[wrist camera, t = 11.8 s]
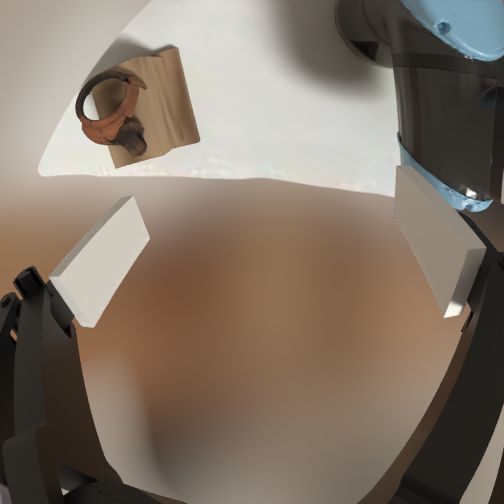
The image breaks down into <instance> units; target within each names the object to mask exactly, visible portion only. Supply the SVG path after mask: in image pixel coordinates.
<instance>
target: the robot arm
mask: <svg viewBox="0 0 504 504" xmlns="http://www.w3.org/2000/svg"><path fill="white" fill-rule="evenodd" d="M335 22H336V26H337V29H338V31H339V33H340V35H341V37H342V39H343V40H344V41H345V43H346V44H347V45H348V46H349V48H350V49H351V50H352V51H353V52H355V53H356V54H357V55H358V56H360V57H361V58H362V59H364V60H366V61H368V62H370V63H372V64H374V65H377V66H380V67H384V68H393V73H394V81H395V90H396V100H397V112H398V129H399V131H398V133H397V139H398V143H399V145H400V156H401V166H396V189H395V205H394V219H395V221H396V223H397V225H398V226H399V228H400V229H401V231H402V233H403V235H404V237H405V239H406V240H407V242H408V244H409V246H410V248H411V250H412V251H413V253H414V255H415V257H416V259H417V261H418V263H419V265H420V267H421V269H422V271H423V273H424V275H425V277H426V279H427V281H428V283H429V285H430V287H431V290H432V292H433V294H434V296H435V298H436V301H437V303H438V305H439V307H440V310H441V312H442V314H443V317H450V316H456V315H460V314H462V312H463V310H464V307H465V305H466V302H468V304H469V306H470V308H471V312H470V314H469V316H468V318H467V320H466V322H465V324H464V326H463V328H462V330H461V332H463V333H462V335H461V338H460V341H459V343H458V346H457V348H456V351H455V353H454V355H453V358H452V360H451V362H450V365H449V367H448V370H447V371H446V374H445V376H444V378H443V380H442V382H441V384H440V386H439V388H438V390H437V392H436V394H435V396H434V398H433V400H432V402H431V403H430V405H429V407H428V409H427V411H426V412H425V414H424V416H423V418H422V419H421V421H420V423H419V424H418V426H417V428H416V429H415V431H414V433H413V434H412V436H411V437H410V439H409V440H408V442H407V443H406V445H405V447H404V448H403V449H402V451H401V452H400V454H399V455H398V456H397V458H396V459H395V461H394V462H393V464H392V465H391V466H390V467H389V469H388V470H387V471H386V473H385V474H384V475H383V477H382V478H381V479H380V481H379V482H378V483H377V484H376V485H375V487H374V488H373V489H372V490H371V491H370V492H369V493H368V494H367V495H366V496H365V497H364V498H363V499H361V500H360V501H359V502H358V503H357V504H459V503H460V500H461V498H462V496H463V494H464V492H465V490H466V489H467V486H468V485H469V483H470V481H471V480H472V477H473V476H474V474H475V472H476V470H477V468H478V466H479V464H480V462H481V460H482V458H483V456H484V453H485V451H486V449H487V447H488V444H489V442H490V440H491V437H492V435H493V432H494V430H495V427H496V424H497V422H498V419H499V416H500V413H501V410H502V407H503V404H504V252H498V251H497V250H496V248H495V247H494V246H493V245H492V243H491V242H490V241H489V240H488V238H487V237H486V236H485V235H484V234H482V231H481V230H480V229H479V228H477V226H476V224H475V223H474V222H473V221H472V220H471V219H470V218H469V217H467V216H466V215H464V214H463V213H461V212H456V211H455V209H459V210H463V209H464V208H466V209H468V210H469V211H481V210H484V209H486V208H487V207H488V206H489V205H490V203H491V202H492V201H493V200H495V201H497V202H500V203H502V204H504V87H501V86H499V85H498V79H497V68H496V60H497V59H499V58H500V57H502V56H503V55H504V4H503V2H502V0H337V3H336V6H335ZM495 79H496V80H495ZM454 208H455V209H454ZM149 239H150V237H149V235H148V232H147V230H146V227H145V225H144V222H143V220H142V217H141V214H140V212H139V209H138V206H137V204H136V201H135V198H134V195H132V196H127V197H123V198H121V199H120V200H119V201H118V202H117V203H116V204H115V205H114V206H113V207H112V208H111V209H110V210H109V211H108V212H107V213H106V214H105V215H104V216H103V217H102V218H101V219H100V220H99V221H98V222H97V223H96V224H95V225H94V226H93V227H92V228H91V229H90V230H89V231H88V232H87V233H86V234H85V236H84V237H83V238H82V239H81V240H80V241H79V242H78V243H77V244H76V245H75V246H74V248H73V249H72V250H71V251H70V252H69V253H68V255H67V256H66V257H65V258H64V259H63V260H62V261H61V263H60V264H59V265H58V266H57V267H56V268H55V269H54V271H53V272H52V273H51V274H50V276H49V279H50V280H49V281H48V282H47V284H45V283H44V281H43V279H42V278H41V276H40V275H39V273H38V271H37V269H36V268H35V267H34V266H32V267H28V268H26V269H25V270H23V271H22V272H21V273H20V274H19V275H18V276H17V277H16V278H15V280H14V282H13V284H14V286H15V287H16V289H17V290H18V292H19V293H20V295H21V296H22V297H23V299H22V300H20V299H19V298H18V297H17V295H16V293H15V292H11V293H9V294H6V295H5V296H4V297H3V298H2V299H1V301H0V504H187V503H185V502H183V501H179V500H175V499H171V498H167V497H164V496H160V495H157V494H153V493H150V492H147V491H144V490H141V489H138V488H135V487H132V486H129V485H126V484H123V482H122V480H121V478H120V476H119V475H118V473H117V472H116V471H115V470H114V469H113V468H112V467H111V465H109V463H108V462H107V460H106V458H105V456H104V453H103V451H102V447H101V444H100V441H99V438H98V435H97V431H96V428H95V425H94V421H93V418H92V414H91V410H90V406H89V402H88V397H87V393H86V388H85V384H84V379H83V373H82V368H81V362H80V357H79V350H78V343H77V335H76V328H75V326H74V324H73V323H72V322H71V321H72V320H73V318H74V317H75V318H76V319H77V320H78V322H79V323H80V324H81V326H85V327H94V326H95V324H96V323H97V321H98V319H99V318H100V316H101V314H102V313H103V311H104V309H105V308H106V306H107V304H108V302H109V301H110V299H111V298H112V296H113V294H114V293H115V291H116V289H117V287H118V286H119V285H120V283H121V281H122V280H123V278H124V277H125V275H126V274H127V272H128V271H129V269H130V267H131V266H132V264H133V263H134V261H135V260H136V258H137V257H138V255H139V254H140V252H141V251H142V249H143V248H144V247H145V245H146V244H147V242H148V241H149ZM11 330H13V331H14V333H15V334H16V335H17V342H16V341H15V340H14V339H13V337H12V336H11V335H10V332H11ZM61 488H62V489H65V490H68V491H70V492H68V493H67V494H65V495H64V496H63V494H62V491H61ZM488 504H504V449H503V454H502V458H501V463H500V467H499V471H498V474H497V478H496V481H495V485H494V488H493V491H492V495H491V497H490V500H489V503H488Z"/></svg>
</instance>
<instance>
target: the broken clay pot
mask: <svg viewBox="0 0 504 504" xmlns="http://www.w3.org/2000/svg"><path fill="white" fill-rule="evenodd" d="M108 79H119V80H121V81H123V82H127V84H128V85H126V86H125V97H124V99H123V101H122V103H121V105H120V106H119V107H118V109H117V110H116V111H115V112H114V113H113V114H111V115H110V116H108V117H106V118H104V119H101V120H90V119H88V118H87V117H86V116H85V115H84V112H83V105H84V101H85V98H86V97H87V95H89V94H90V92H91V90H92V89H93V88H94V87H95V86H96V85H98V84H99V83H101V82H102V81H105V80H108ZM139 87H141V88H143V89H144V90H146V89H147V86H146V84H145V83H144V82H143V81H142V80H140V79H139V78H137V77H135V76H134V75H132V74H126V73H123V72H119V71H107V72H104V73H102V74H99V75H97V76H95V77H94V78H92V79H91V80H90V81H88V82H87V83H86V84H85V86H84V87H83V88H82V89H81V92H80V93H79V95H78V98H77V101H76V105H75V109H76V114H77V117H78V118H79V119H80V121H81V122H82V130H83V132H84V134H85V135H86V136H87V137H88V138H89V139H90V140H92V141H93V142H95V143H97V144H101V145H112V146H115V145H121V146H122V147H123V148H125V149H126V150H127V151H128V152H129V153H130V154H131V155H132V156H133V157H138V156H142V155H143V154H144V153H145V152H146V149H147V144H146V142H145V139H144V137H143V134H144V129H145V128H144V127H141V126H140V125H139V124H138V123H137V122H133V121H128V122H126V123H124V120H125V118H126V117H129V118H131V117H132V115H133V113H134V110H135V107H136V105H137V100H138V96H139ZM114 140H115V141H114Z"/></svg>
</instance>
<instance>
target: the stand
mask: <svg viewBox="0 0 504 504" xmlns="http://www.w3.org/2000/svg"><path fill="white" fill-rule="evenodd" d="M107 71H119V72H123V73H126V74H132V75H134V76H135V77H137V78H139V79H140V80H142V81H143V82H144V83H145V84H146V86H147V89H146V90H144V89H143V88H141V87H139V96H138V100H137V105H136V107H135V110H134V113H133V115H132V117H131V118H129V117H126V118H125V120H124V123H126V122H128V121H133V122H137V123H138V124H139V125H140V126H141V127H144V128H145V129H144V134H143V137H144V139H145V142H146V144H147V149H146V152H145V153H144V154H143V155H142V156H138V157H133V156H132V155H131V154H130V153H129V152H128V151H127V150H126V149H125V148H123V147H122V146H121V145H115V146H112V145H108V148H109V151H110V154H111V157H112V160H113V163H114V165H115V168H120V167H123V166H126V165H130V164H133V163H137V162H140V161H144V160H148V159H151V158H155V157H159V156H163V155H165V154H166V153H167V152H169V151H170V150H171V149H173V148H177V147H181V146H185V145H190V144H194V143H198V142H199V141H200V137H199V133H198V129H197V125H196V121H195V117H194V113H193V109H192V105H191V101H190V97H189V93H188V88H187V84H186V80H185V76H184V72H183V67H182V63H181V59H180V55H179V50H178V48H172V49H169V50H166V51H163V52H160V53H157V54H154V55H152V56H149V57H147V56H137V57H135V58H132V59H130V60H128V61H125V62H123V63H121V64H119V65H116V66H114V67H112V68H110V69H108V70H106V71H104V72H107ZM104 72H102V73H104ZM102 73H100V74H102ZM98 75H99V74H98ZM96 76H97V75H96ZM94 77H95V76H94ZM94 77H92V78H94ZM92 78H90V79H89V81H90V80H91V79H92ZM126 85H128V84H127V82H123V81H121V80H119V79H108V80H105V81H102V82H101V83H99V84H98V85H96V86H95V87H94V88H93V89H92V94H93V97H94V101H95V105H96V108H97V112H98V115H99V119H100V120H101V119H104V118H106V117H108V116H110V115H111V114H113V113H114V112H115V111H116V110H117V109H118V107H119V106H120V105H121V103H122V101H123V99H124V97H125V86H126ZM114 141H115V140H114Z"/></svg>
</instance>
